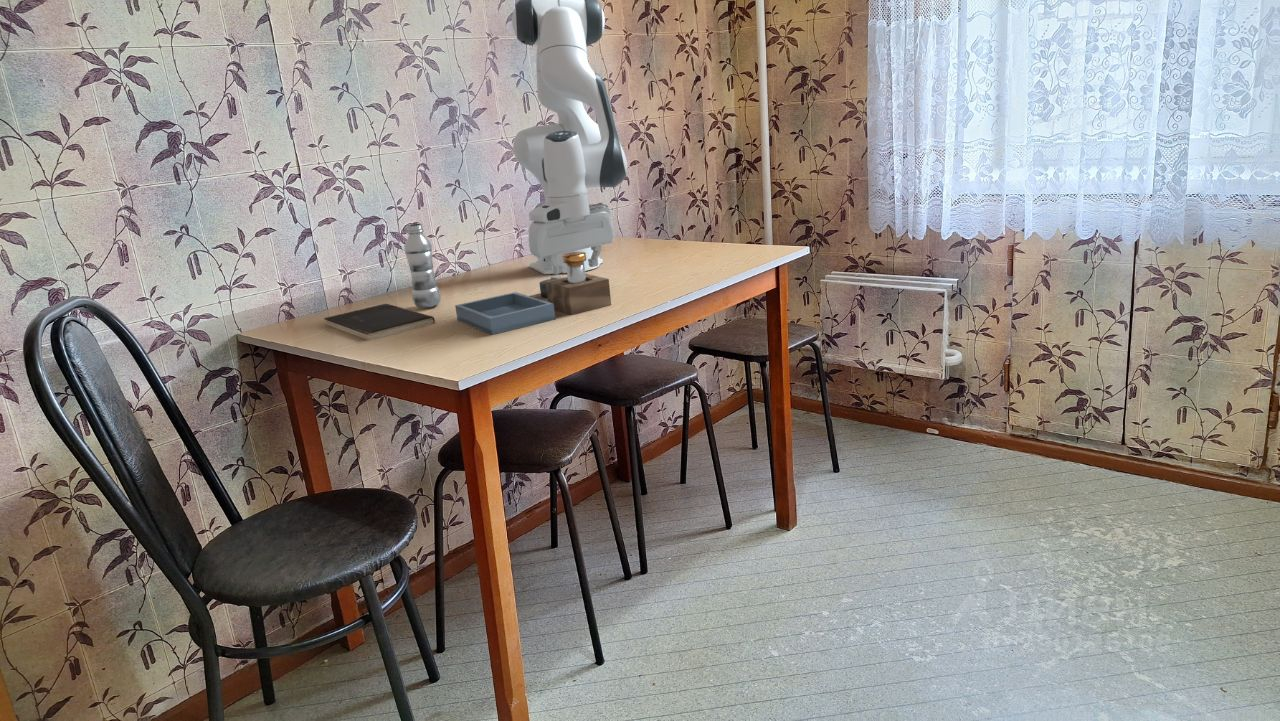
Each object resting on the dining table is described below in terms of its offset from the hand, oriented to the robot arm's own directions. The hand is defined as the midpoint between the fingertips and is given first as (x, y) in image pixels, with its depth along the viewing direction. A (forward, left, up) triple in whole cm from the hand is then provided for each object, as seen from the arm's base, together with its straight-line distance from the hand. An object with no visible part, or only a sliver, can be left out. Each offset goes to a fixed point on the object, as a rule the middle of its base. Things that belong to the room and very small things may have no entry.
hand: (576, 270), depth 186 cm
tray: (-4, -17, -8) cm, 19 cm away
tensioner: (-5, 0, -8) cm, 10 cm away
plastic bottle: (-32, -24, -9) cm, 41 cm away
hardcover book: (-26, -38, -9) cm, 47 cm away
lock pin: (0, 0, -8) cm, 8 cm away
